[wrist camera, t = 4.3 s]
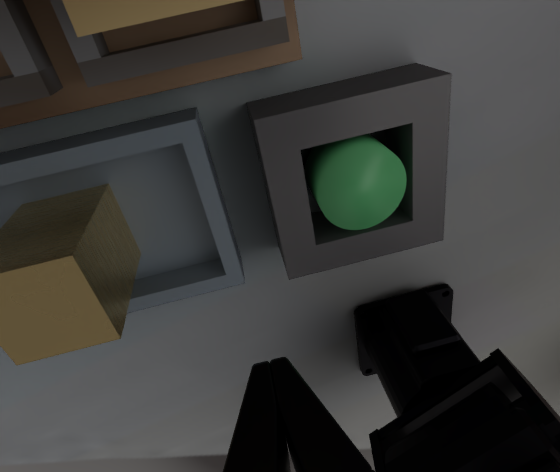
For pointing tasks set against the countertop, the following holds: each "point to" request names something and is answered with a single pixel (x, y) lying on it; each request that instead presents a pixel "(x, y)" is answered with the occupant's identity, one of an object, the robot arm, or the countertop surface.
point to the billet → (65, 274)
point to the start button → (355, 181)
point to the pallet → (130, 49)
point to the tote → (142, 199)
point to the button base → (346, 124)
